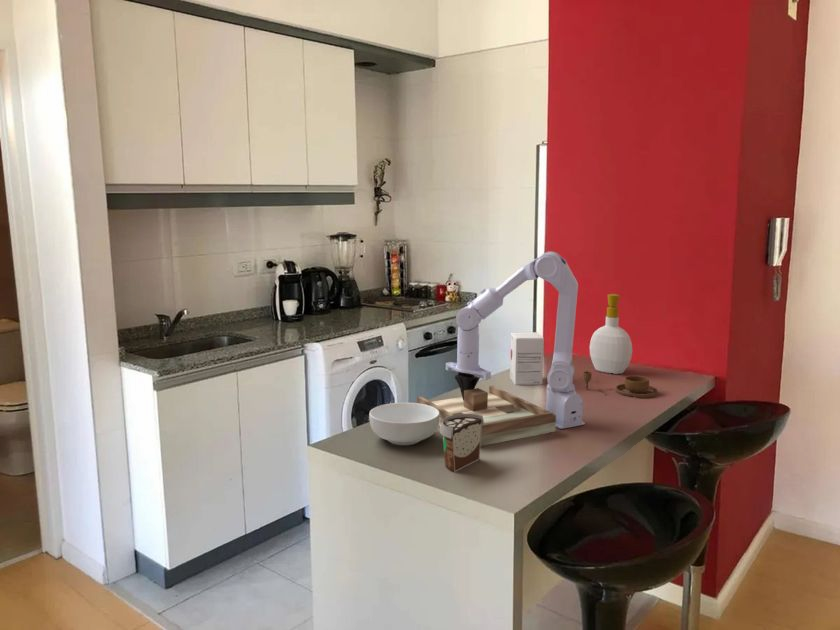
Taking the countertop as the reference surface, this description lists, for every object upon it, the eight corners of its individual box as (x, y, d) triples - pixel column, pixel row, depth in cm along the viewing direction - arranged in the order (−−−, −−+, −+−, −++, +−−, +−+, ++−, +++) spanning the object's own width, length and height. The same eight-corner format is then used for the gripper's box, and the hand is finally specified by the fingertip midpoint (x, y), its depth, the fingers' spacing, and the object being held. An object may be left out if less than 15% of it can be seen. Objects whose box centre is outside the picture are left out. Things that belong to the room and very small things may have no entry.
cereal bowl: (451, 435, 170) (452, 408, 169) (417, 457, 156) (417, 427, 154) (393, 423, 178) (393, 397, 177) (355, 443, 164) (355, 415, 163)
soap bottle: (635, 372, 230) (640, 294, 225) (625, 377, 223) (630, 298, 218) (595, 365, 238) (598, 290, 234) (584, 370, 231) (587, 293, 227)
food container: (461, 451, 160) (461, 409, 158) (483, 457, 156) (484, 415, 154) (427, 467, 150) (427, 423, 148) (450, 474, 146) (450, 429, 145)
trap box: (555, 431, 172) (556, 412, 172) (472, 447, 162) (473, 427, 161) (492, 400, 198) (492, 383, 197) (417, 412, 187) (417, 394, 186)
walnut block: (487, 408, 182) (487, 392, 182) (473, 411, 180) (473, 395, 179) (477, 404, 186) (478, 388, 185) (463, 406, 184) (464, 390, 183)
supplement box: (509, 377, 223) (510, 332, 220) (536, 377, 223) (537, 331, 221) (514, 385, 214) (515, 338, 211) (543, 384, 214) (544, 337, 212)
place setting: (642, 405, 196) (643, 385, 195) (579, 391, 209) (579, 372, 208) (667, 392, 209) (668, 373, 208) (606, 380, 222) (607, 362, 221)
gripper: (498, 353, 182) (497, 403, 184) (458, 344, 192) (457, 391, 194) (481, 357, 177) (479, 408, 179) (440, 348, 187) (440, 396, 190)
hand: (467, 400), depth 187 cm, fingers closed
